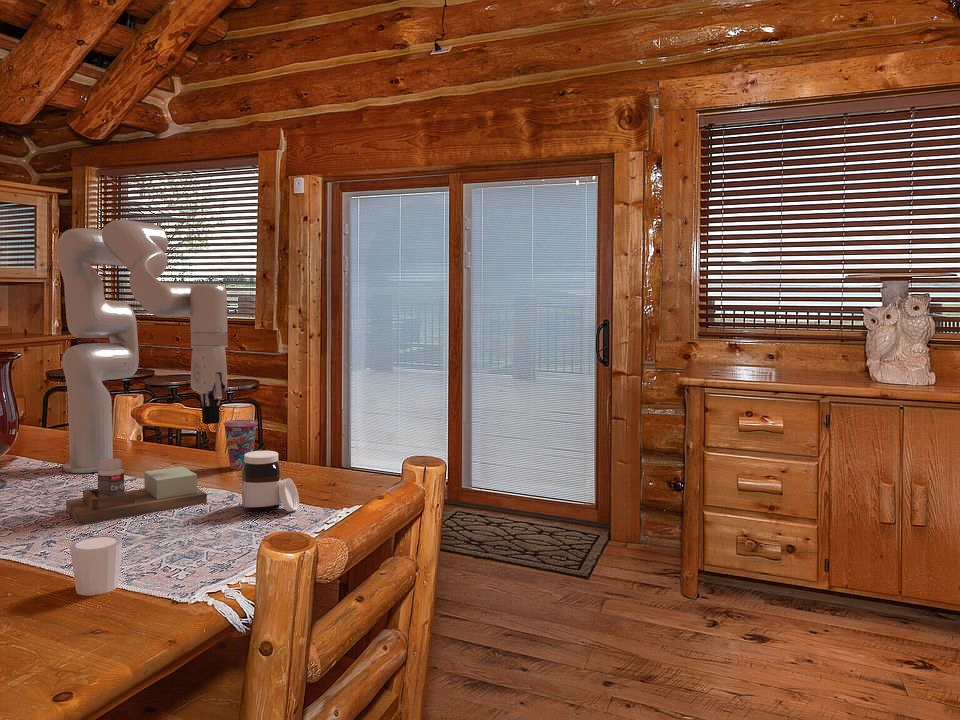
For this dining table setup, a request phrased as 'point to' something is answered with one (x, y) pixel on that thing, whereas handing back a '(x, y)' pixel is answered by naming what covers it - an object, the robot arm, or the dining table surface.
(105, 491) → the pill bottle
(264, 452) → the spread jar
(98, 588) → the white tapered cylinder
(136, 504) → the housing
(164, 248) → the robot arm
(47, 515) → the dining table surface
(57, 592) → the dining table surface
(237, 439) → the cup
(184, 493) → the pale green block
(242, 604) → the dining table surface
